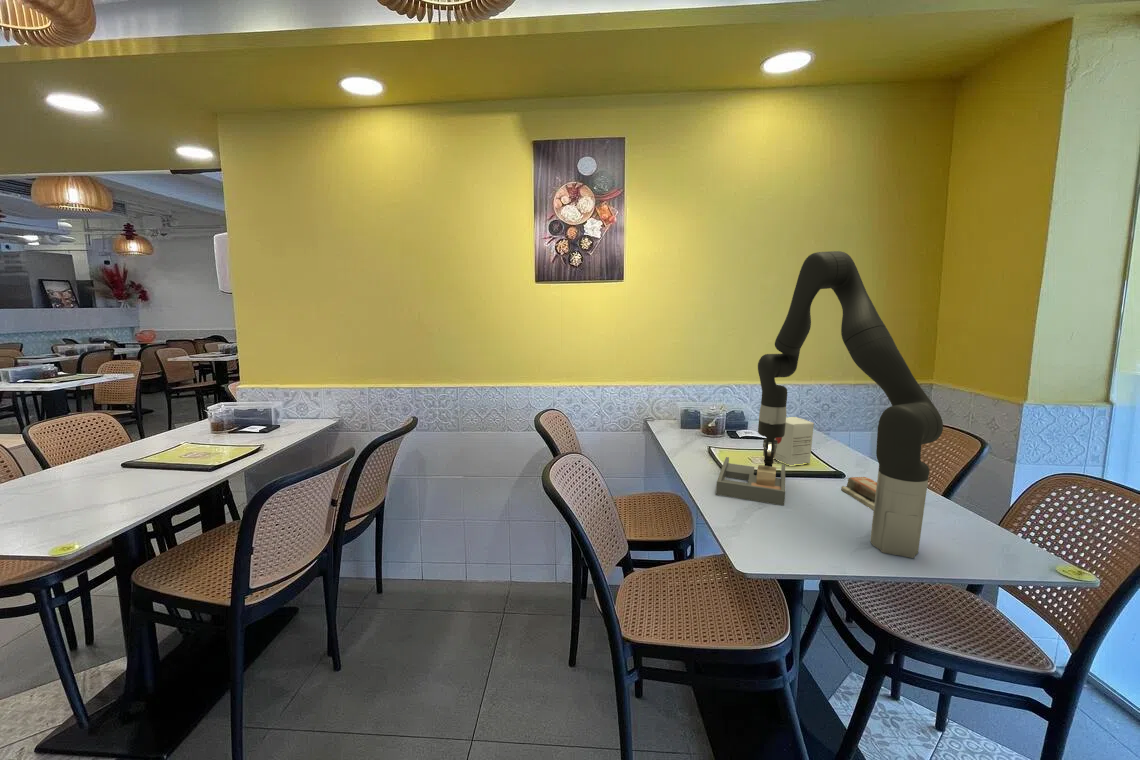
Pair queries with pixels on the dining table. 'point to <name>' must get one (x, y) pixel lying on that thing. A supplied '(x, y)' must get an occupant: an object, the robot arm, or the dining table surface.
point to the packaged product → (861, 490)
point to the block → (766, 475)
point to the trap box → (749, 484)
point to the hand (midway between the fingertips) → (767, 474)
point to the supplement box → (795, 442)
